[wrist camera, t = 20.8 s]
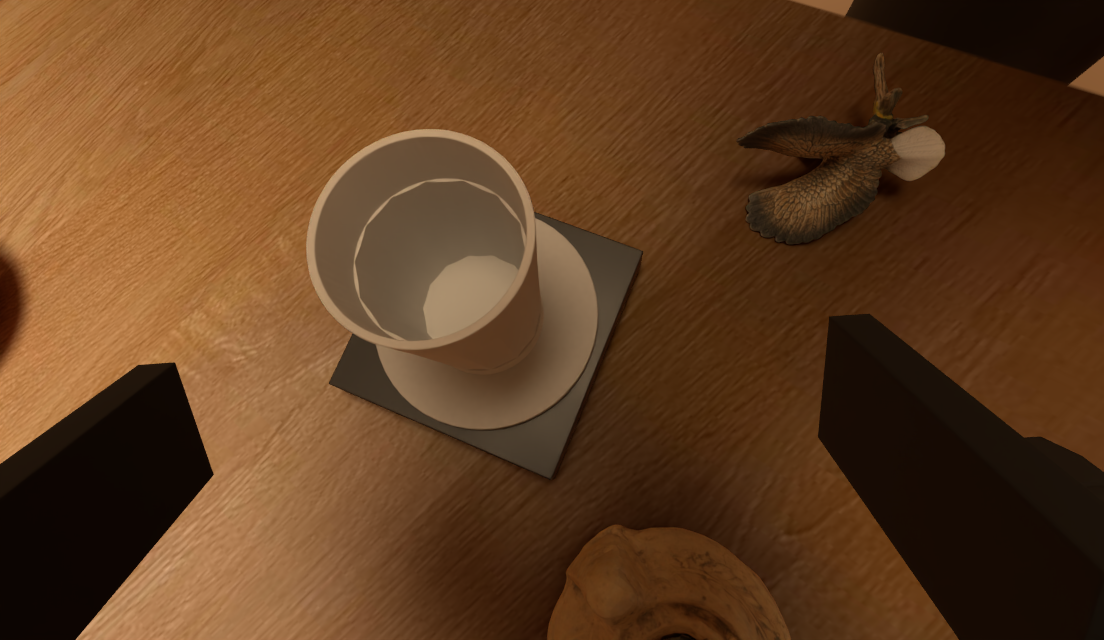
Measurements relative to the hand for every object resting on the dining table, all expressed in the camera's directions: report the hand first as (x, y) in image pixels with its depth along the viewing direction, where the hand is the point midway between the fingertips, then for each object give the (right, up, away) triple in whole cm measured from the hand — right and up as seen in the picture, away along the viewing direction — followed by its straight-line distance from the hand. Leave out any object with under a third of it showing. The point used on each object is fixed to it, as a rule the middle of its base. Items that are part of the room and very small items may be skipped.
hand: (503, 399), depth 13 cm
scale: (-2, +1, +23) cm, 23 cm away
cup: (-3, +2, +20) cm, 21 cm away
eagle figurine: (+16, +10, +24) cm, 30 cm away
